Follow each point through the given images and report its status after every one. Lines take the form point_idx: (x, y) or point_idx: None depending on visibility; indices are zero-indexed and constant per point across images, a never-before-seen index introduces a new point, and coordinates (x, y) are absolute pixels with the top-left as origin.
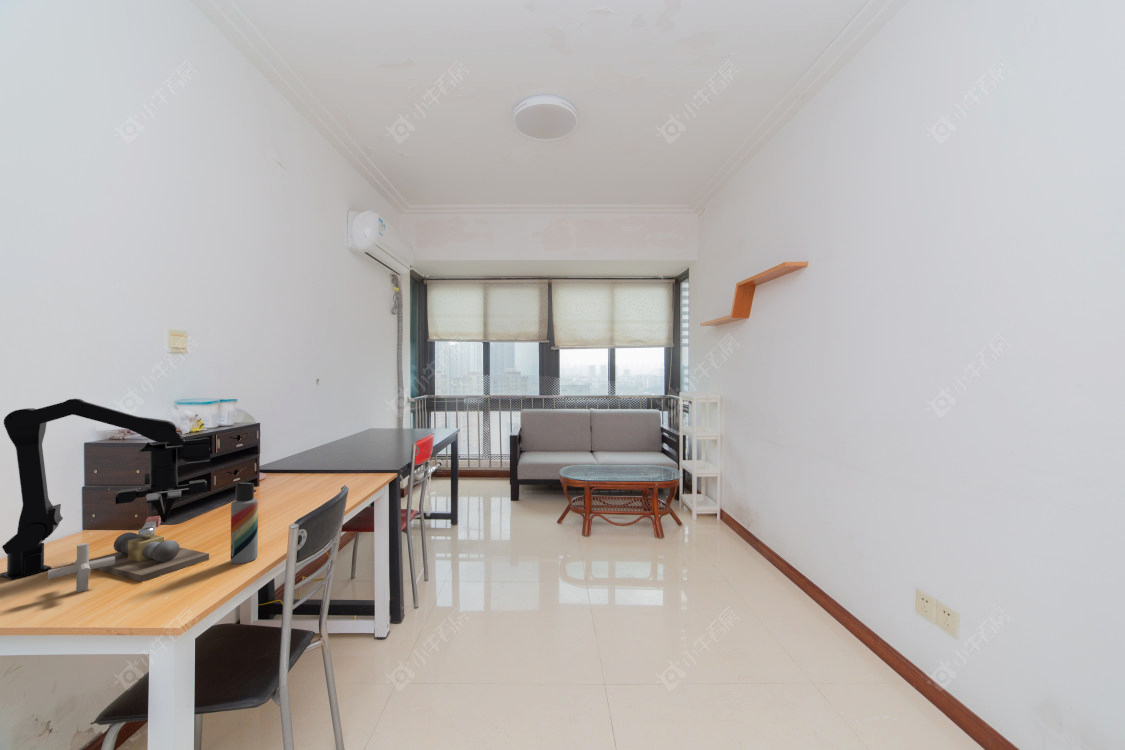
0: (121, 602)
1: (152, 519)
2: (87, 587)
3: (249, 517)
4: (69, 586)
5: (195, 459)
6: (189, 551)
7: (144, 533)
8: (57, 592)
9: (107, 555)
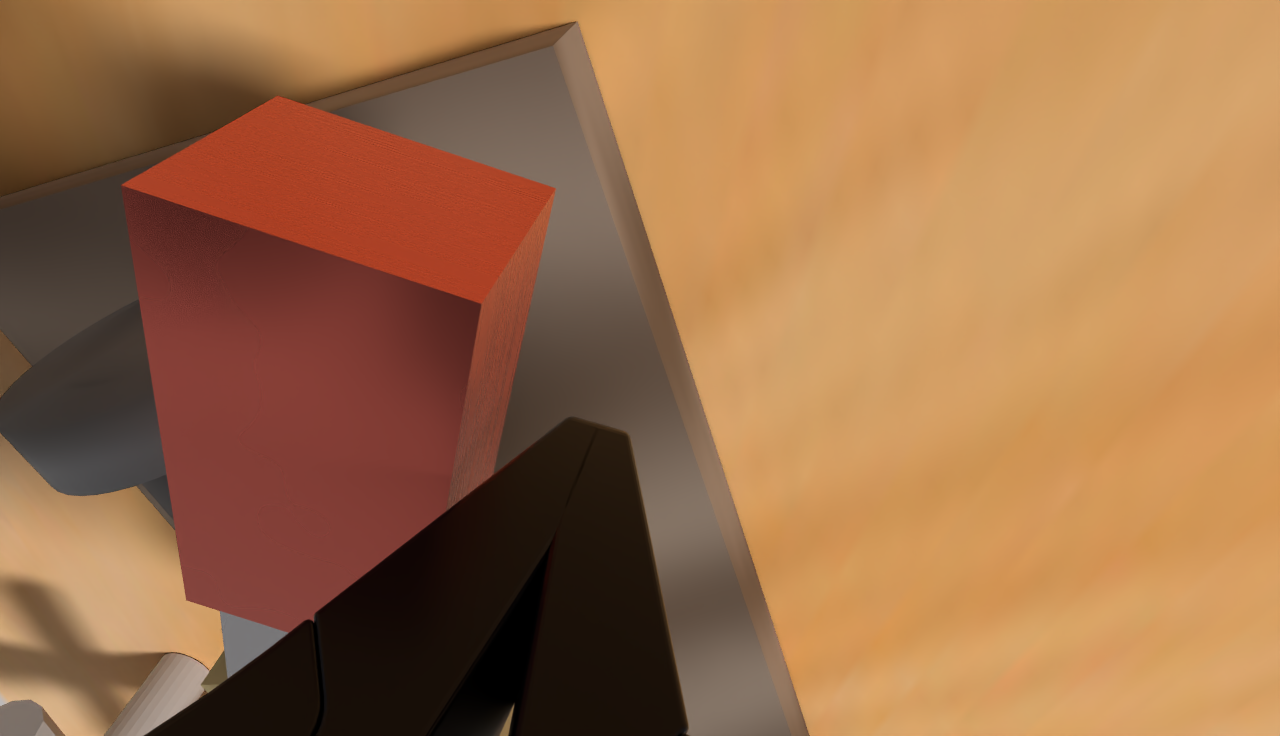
0: None
1: (305, 578)
2: (203, 691)
3: None
4: (89, 570)
5: None
6: (754, 727)
7: None
8: (66, 606)
9: (79, 223)
